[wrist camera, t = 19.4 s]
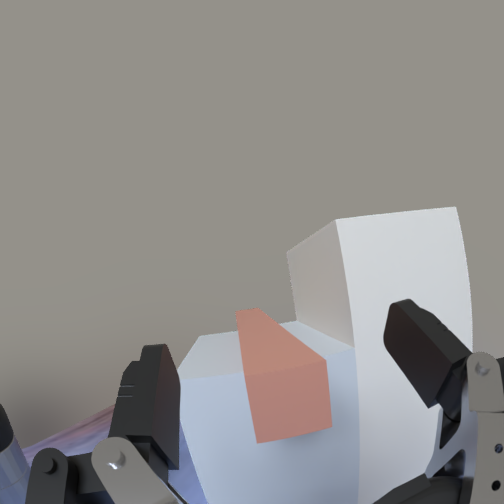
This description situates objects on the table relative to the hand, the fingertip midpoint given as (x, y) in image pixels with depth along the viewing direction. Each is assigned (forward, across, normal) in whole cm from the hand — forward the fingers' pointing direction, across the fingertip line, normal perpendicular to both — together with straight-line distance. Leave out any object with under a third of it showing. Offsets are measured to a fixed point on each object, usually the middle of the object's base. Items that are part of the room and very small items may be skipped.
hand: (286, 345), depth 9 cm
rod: (+10, 0, +11) cm, 15 cm away
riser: (+5, -7, +33) cm, 34 cm away
